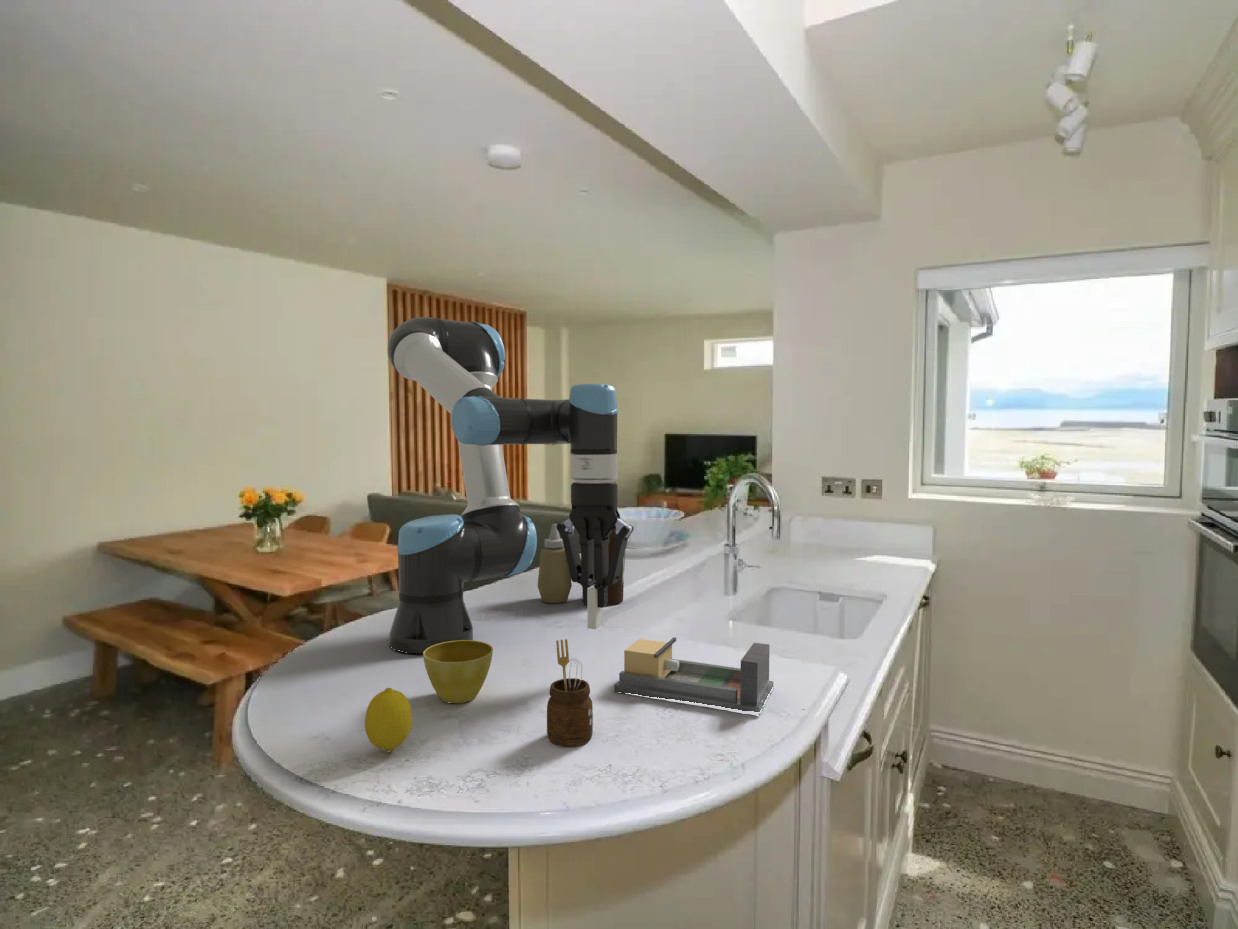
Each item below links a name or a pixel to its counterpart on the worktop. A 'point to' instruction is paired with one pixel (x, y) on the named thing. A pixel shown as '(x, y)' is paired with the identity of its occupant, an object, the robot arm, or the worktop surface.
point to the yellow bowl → (458, 668)
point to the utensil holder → (569, 707)
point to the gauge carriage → (650, 658)
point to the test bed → (709, 682)
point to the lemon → (388, 719)
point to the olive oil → (617, 588)
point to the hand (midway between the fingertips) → (595, 626)
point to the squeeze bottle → (554, 570)
